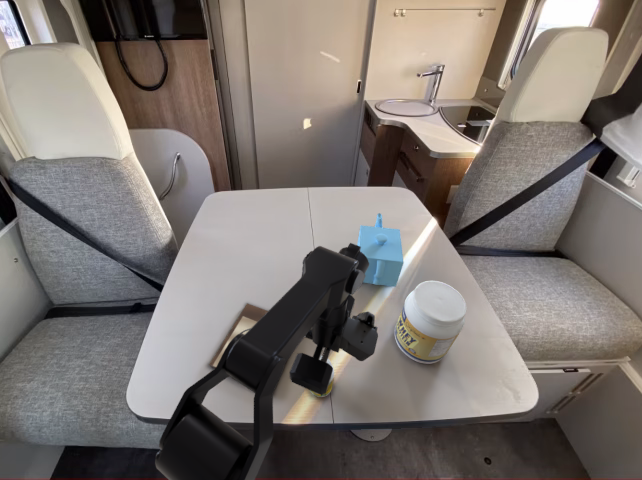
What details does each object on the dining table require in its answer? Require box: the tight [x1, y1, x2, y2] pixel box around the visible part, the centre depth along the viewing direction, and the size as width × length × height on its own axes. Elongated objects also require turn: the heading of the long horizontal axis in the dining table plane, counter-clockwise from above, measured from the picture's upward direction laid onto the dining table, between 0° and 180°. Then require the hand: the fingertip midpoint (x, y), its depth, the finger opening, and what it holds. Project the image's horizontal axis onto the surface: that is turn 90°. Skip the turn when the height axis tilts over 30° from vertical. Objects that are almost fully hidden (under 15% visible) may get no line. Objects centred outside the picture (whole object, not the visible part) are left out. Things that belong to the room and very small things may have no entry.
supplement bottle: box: [309, 355, 335, 398], centre depth 65 cm, size 5×5×10 cm
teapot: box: [356, 212, 405, 288], centre depth 89 cm, size 22×11×14 cm, turn 169°
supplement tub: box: [394, 280, 468, 365], centre depth 70 cm, size 12×12×17 cm
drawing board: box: [208, 303, 287, 369], centre depth 75 cm, size 18×16×1 cm
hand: (322, 357), depth 60 cm, fingers open, 9 cm apart
